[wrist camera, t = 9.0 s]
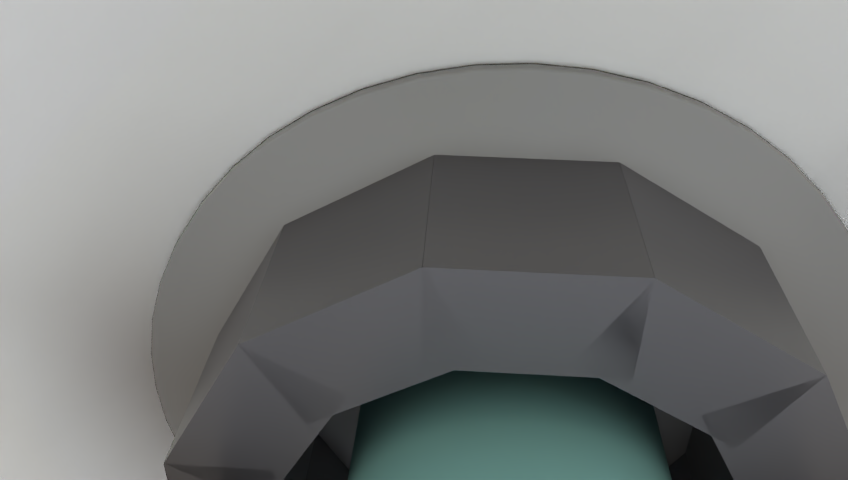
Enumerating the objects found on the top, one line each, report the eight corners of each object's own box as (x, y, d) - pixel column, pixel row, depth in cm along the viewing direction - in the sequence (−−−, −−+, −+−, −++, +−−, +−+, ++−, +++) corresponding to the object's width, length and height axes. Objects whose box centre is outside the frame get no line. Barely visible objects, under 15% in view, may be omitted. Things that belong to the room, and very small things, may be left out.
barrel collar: (766, 615, 17) (815, 771, 14) (206, 580, 17) (161, 724, 15) (999, 80, 10) (1164, 198, 8) (88, 47, 11) (-29, 147, 8)
